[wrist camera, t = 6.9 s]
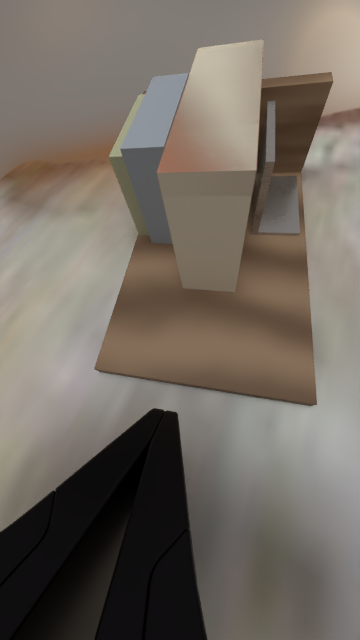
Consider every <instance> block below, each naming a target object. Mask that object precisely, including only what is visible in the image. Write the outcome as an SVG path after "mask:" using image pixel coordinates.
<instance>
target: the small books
mask: <svg viewBox="0 0 360 640" xmlns="http://www.w3.org/2000/svg"><path fill="white" fill-rule="evenodd" d="M188 77H189V73H185V74H176V75H167V76H159V77H153V79H152V81H151V83H150V86H149V88H148V90H147V92H146V94H142V95H139V96H138V98H137V100H136V102H135V104H134V106H133V108H132V110H131V112H130V114H129V116H128V118H127V120H126V122H125V124H124V126H123V128H122V131H121V133H120V135H119V137H118V139H117V141H116V143H115V145H114V147H113V149H112V151H111V153H110V155H109V159H110V162H111V164H112V167H113V169H114V172H115V174H116V177H117V179H118V182H119V185H120V187H121V190H122V192H123V195H124V197H125V200H126V202H127V205H128V208H129V210H130V213H131V215H132V218H133V220H134V223H135V225H136V228H137V230H138V233H139V235H148V236H150V239H151V242H152V243H160V244H173V243H172V238H171V234H170V229H169V225H168V220H167V216H166V211H165V207H164V202H163V198H162V195H161V191H160V186H159V182H158V177H157V170H158V167H159V164H160V161H161V158H162V155H163V152H164V149H165V146H166V143H167V140H168V137H169V134H170V131H171V128H172V125H173V122H174V119H175V116H176V113H177V110H178V107H179V104H180V101H181V98H182V95H183V92H184V89H185V86H186V83H187V80H188Z"/></svg>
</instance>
